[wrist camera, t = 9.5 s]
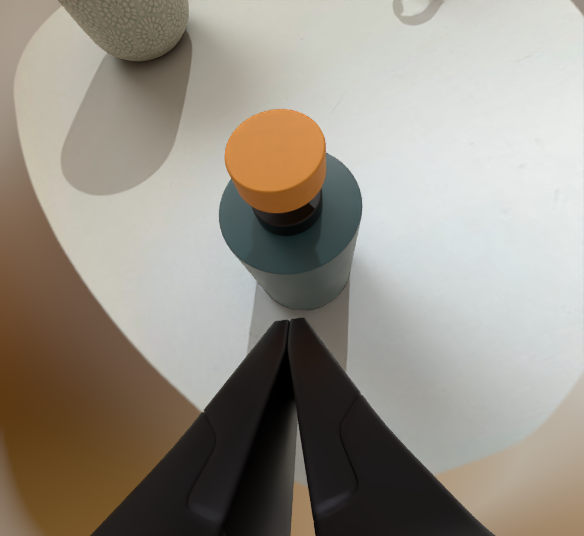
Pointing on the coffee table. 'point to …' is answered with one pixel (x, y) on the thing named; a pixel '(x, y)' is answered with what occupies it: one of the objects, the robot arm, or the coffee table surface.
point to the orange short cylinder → (277, 160)
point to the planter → (131, 25)
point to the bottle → (298, 240)
